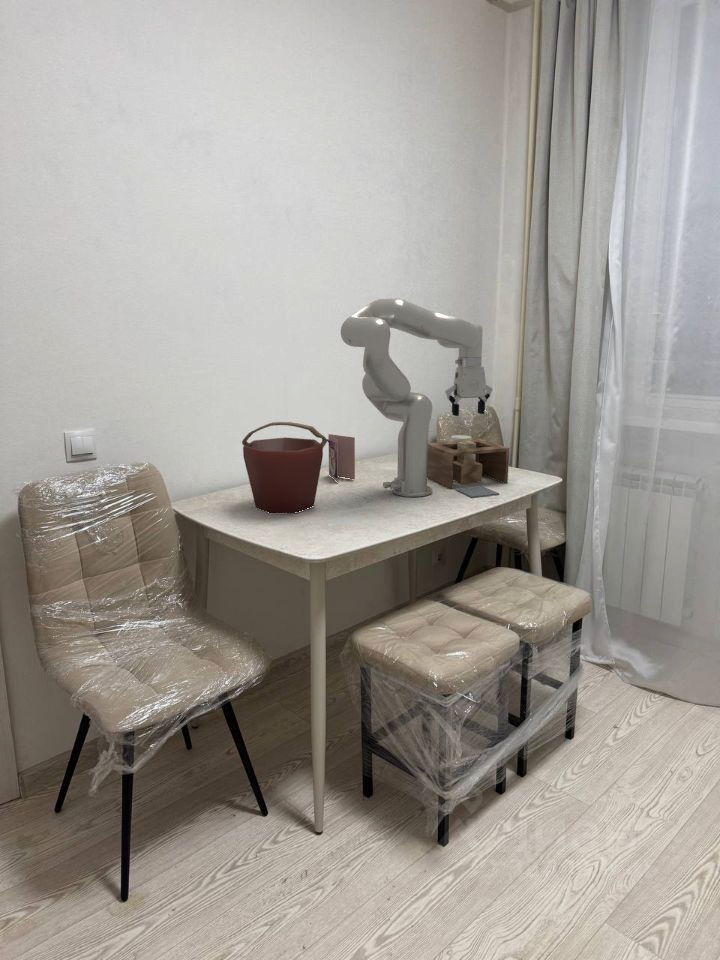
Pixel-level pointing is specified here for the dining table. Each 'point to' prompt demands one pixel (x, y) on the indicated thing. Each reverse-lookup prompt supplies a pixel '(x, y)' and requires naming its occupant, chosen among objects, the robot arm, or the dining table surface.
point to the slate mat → (477, 492)
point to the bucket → (284, 470)
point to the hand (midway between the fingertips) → (468, 414)
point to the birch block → (466, 458)
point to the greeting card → (341, 456)
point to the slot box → (487, 462)
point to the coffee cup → (460, 437)
